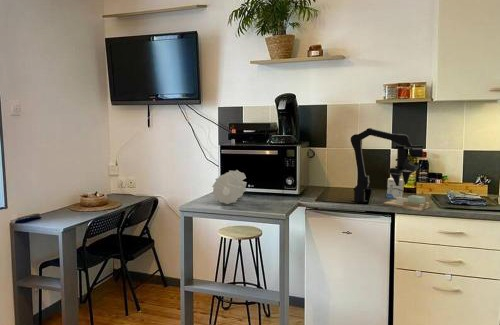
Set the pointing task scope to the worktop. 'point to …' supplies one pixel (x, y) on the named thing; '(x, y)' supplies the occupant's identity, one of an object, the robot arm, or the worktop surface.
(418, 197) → the sage block
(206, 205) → the worktop surface
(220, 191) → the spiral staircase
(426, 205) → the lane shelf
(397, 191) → the ink box
